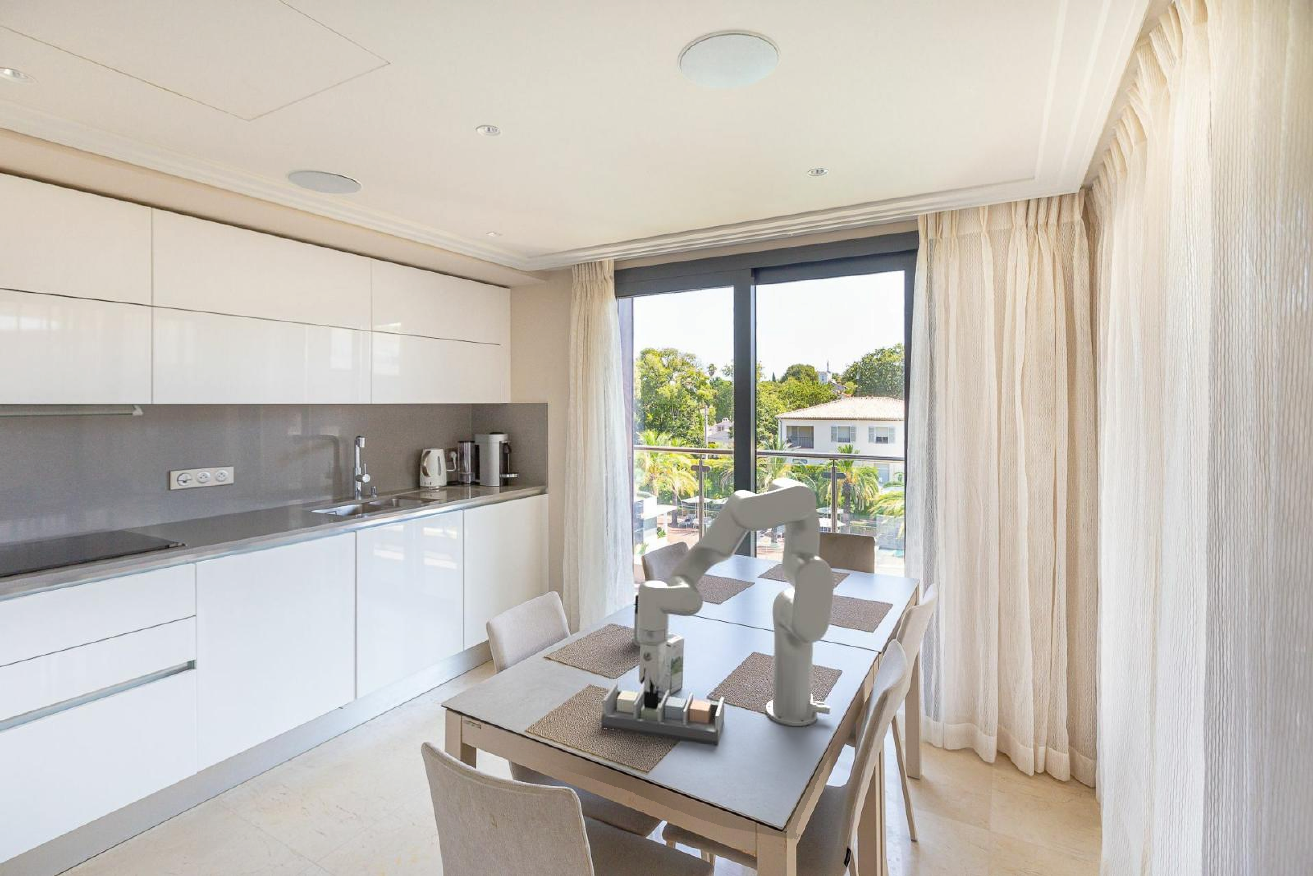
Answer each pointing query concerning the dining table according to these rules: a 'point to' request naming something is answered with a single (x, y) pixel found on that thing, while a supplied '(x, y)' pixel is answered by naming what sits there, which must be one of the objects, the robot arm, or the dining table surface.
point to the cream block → (626, 701)
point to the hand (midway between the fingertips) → (651, 706)
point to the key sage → (649, 713)
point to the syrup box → (673, 665)
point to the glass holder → (636, 623)
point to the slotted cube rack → (663, 720)
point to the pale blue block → (675, 708)
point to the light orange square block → (700, 711)
